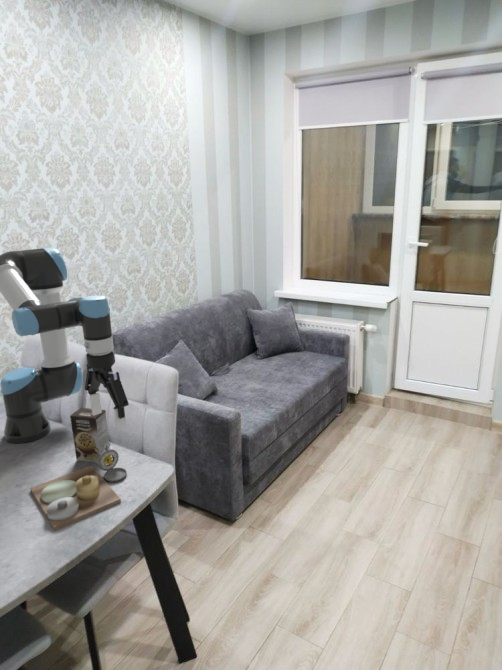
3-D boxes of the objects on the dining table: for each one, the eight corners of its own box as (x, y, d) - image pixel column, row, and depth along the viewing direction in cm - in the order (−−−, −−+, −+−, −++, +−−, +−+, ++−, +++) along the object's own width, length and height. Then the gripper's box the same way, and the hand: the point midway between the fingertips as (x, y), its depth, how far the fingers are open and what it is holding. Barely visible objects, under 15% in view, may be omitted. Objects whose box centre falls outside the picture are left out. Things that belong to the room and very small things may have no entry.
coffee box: (75, 461, 153) (68, 415, 148) (86, 450, 159) (80, 406, 154) (101, 464, 151) (94, 418, 146) (111, 453, 157) (105, 409, 152)
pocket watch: (120, 483, 140) (117, 454, 137) (94, 481, 142) (90, 451, 139) (132, 468, 148) (129, 440, 145) (107, 466, 149) (104, 437, 146)
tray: (30, 491, 138) (27, 472, 136) (91, 468, 148) (89, 450, 147) (54, 530, 121) (50, 509, 119) (120, 501, 132) (118, 482, 130)
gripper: (66, 346, 138) (76, 412, 144) (111, 364, 122) (120, 438, 128) (90, 340, 144) (99, 404, 150) (136, 357, 127) (144, 428, 133)
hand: (108, 420), depth 139 cm, fingers open, 13 cm apart
